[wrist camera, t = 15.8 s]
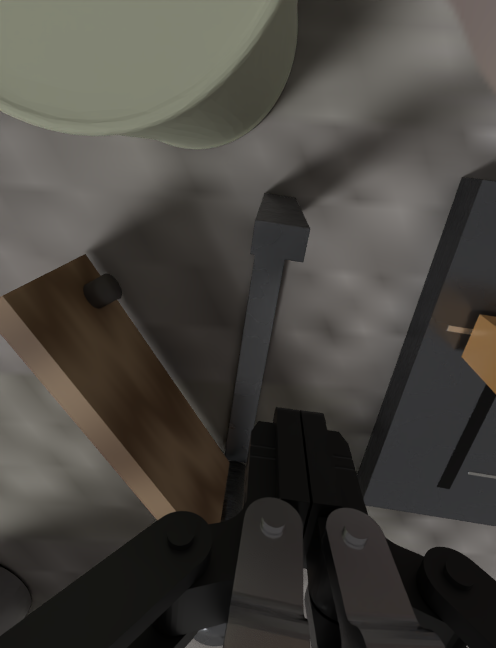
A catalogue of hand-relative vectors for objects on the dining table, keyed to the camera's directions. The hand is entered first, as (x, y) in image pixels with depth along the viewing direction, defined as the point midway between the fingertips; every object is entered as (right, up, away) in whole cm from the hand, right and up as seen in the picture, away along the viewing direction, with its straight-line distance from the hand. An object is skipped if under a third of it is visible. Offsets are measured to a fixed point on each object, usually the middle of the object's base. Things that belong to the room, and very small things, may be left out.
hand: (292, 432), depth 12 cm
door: (-6, +1, +11) cm, 12 cm away
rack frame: (-1, +1, +11) cm, 11 cm away
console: (+12, +1, +10) cm, 16 cm away
